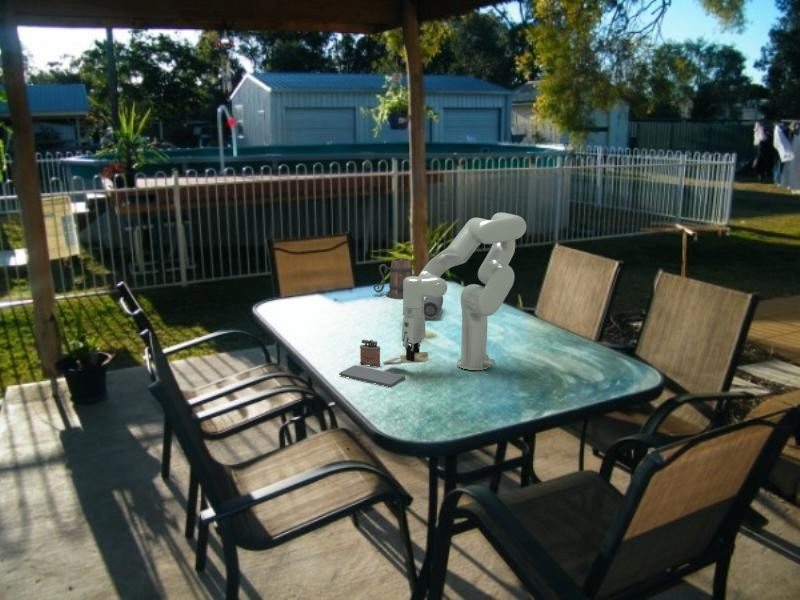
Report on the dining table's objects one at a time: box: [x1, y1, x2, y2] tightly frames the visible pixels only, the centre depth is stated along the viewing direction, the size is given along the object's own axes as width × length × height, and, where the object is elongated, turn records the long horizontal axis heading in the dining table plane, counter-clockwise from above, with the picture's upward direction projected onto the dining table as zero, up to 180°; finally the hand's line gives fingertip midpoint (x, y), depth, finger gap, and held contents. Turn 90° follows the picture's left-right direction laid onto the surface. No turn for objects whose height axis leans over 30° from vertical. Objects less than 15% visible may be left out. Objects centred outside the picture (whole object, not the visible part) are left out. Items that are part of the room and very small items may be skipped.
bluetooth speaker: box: [424, 295, 444, 319], centre depth 326 cm, size 23×9×10 cm, turn 171°
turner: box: [383, 351, 429, 366], centre depth 247 cm, size 17×6×3 cm, turn 59°
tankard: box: [373, 257, 413, 300], centre depth 363 cm, size 24×17×20 cm
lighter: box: [359, 339, 381, 367], centre depth 255 cm, size 8×3×10 cm, turn 74°
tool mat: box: [338, 364, 406, 388], centre depth 243 cm, size 22×10×1 cm, turn 59°
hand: (412, 358), depth 245 cm, fingers closed on turner, 3 cm apart
